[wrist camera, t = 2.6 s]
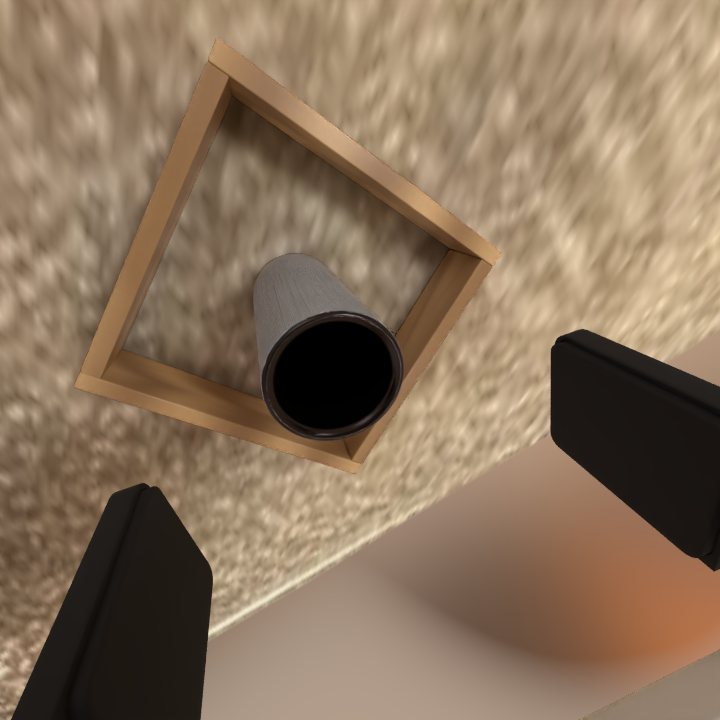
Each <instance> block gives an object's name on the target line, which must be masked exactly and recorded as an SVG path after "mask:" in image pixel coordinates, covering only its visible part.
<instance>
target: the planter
mask: <svg viewBox="0 0 720 720" xmlns="http://www.w3.org/2000/svg"><path fill="white" fill-rule="evenodd" d="M253 305H254V316H255V328H256V339H257V351H258V362H259V374H260V385H261V392H262V396H263V400H264V403H265V405H266V407H267V409H268V411H269V413H270V414H271V415H272V417H273V418H274V419H275V420H276V421H277V422H278V423H279V424H280V425H281V426H282V427H283V428H285V429H286V430H288V431H289V432H291V433H293V434H295V435H297V436H300V437H303V438H306V439H310V440H317V441H333V440H340V439H344V438H348V437H351V436H354V435H356V434H359V433H361V432H363V431H365V430H366V429H368V428H370V427H371V426H372V425H374V424H375V423H376V422H378V421H379V420H380V419H381V418H382V417H383V416H384V415H385V414H386V413H387V412H388V410H389V409H390V408H391V406H392V405H393V403H394V402H395V400H396V398H397V396H398V394H399V391H400V389H401V385H402V382H403V376H404V361H403V355H402V351H401V348H400V346H399V344H398V342H397V340H396V338H395V337H394V335H393V334H392V333H391V331H390V330H389V329H388V328H387V327H386V326H385V325H384V324H383V323H382V322H381V321H380V320H379V319H378V318H377V317H376V316H375V315H374V314H373V313H372V312H371V311H370V310H369V309H368V308H367V307H366V306H365V305H364V304H363V303H362V302H361V301H360V300H359V299H358V298H357V297H356V296H355V295H354V294H353V293H352V292H351V291H350V290H349V289H348V288H347V287H346V285H345V284H344V283H343V282H342V281H341V280H340V279H339V278H338V277H337V276H336V275H335V274H334V273H333V272H332V271H331V270H330V269H329V268H328V267H327V266H325V265H324V264H323V263H322V262H320V261H319V260H317V259H315V258H313V257H311V256H308V255H305V254H295V253H294V254H286V255H282V256H279V257H277V258H275V259H273V260H272V261H270V262H269V263H268V264H267V265H266V266H265V267H264V268H263V269H262V270H261V272H260V273H259V275H258V277H257V279H256V281H255V285H254V290H253Z"/></svg>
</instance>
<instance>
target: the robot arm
mask: <svg viewBox="0 0 720 720" xmlns="http://www.w3.org/2000/svg"><path fill="white" fill-rule="evenodd" d="M551 436H552V439H553V441H554V442H555V444H556V445H557V446H558V447H559V448H560V449H562V450H563V451H564V452H565V453H566V454H567V455H569V456H570V457H571V458H572V459H574V460H575V461H576V462H577V463H578V464H579V465H581V466H582V467H583V468H584V469H585V470H586V471H588V472H589V473H590V474H591V475H592V476H594V477H595V478H596V479H597V480H598V481H599V482H601V483H602V484H603V485H604V486H605V487H607V488H608V489H609V490H610V491H612V492H613V493H614V494H615V495H616V496H617V497H618V498H620V499H621V500H622V501H623V502H624V503H625V504H627V505H628V506H629V507H630V508H631V509H633V510H634V511H635V512H636V513H637V514H638V515H640V516H641V517H642V518H643V519H644V520H646V521H647V522H648V523H649V524H650V525H652V526H653V527H654V528H655V529H656V530H658V531H659V532H660V533H661V534H662V535H664V536H665V537H666V538H667V539H668V540H669V541H670V542H672V543H673V544H674V545H675V546H676V547H678V548H679V549H680V550H681V551H683V552H684V553H685V554H687V555H689V556H691V557H694V558H698V559H700V560H701V561H702V562H703V563H704V564H706V565H707V566H708V567H709V568H710V569H712V570H713V571H716V570H718V569H720V387H719V386H717V385H714V384H712V383H710V382H707V381H705V380H703V379H700V378H698V377H696V376H693V375H691V374H689V373H686V372H684V371H682V370H679V369H677V368H675V367H672V366H670V365H668V364H665V363H663V362H661V361H658V360H656V359H654V358H651V357H649V356H647V355H644V354H642V353H640V352H637V351H635V350H633V349H630V348H628V347H626V346H623V345H621V344H619V343H616V342H614V341H612V340H609V339H607V338H605V337H602V336H600V335H598V334H595V333H593V332H591V331H588V330H585V329H580V330H577V331H574V332H571V333H568V334H565V335H563V336H560V337H558V338H557V340H556V342H555V345H554V346H552V348H551ZM212 586H213V576H212V570H211V567H210V565H209V563H208V562H207V560H206V559H205V557H204V556H203V554H202V552H201V551H200V549H199V548H198V546H197V545H196V543H195V542H194V540H193V539H192V537H191V536H190V534H189V533H188V531H187V530H186V528H185V527H184V525H183V524H182V522H181V520H180V519H179V517H178V516H177V514H176V513H175V511H174V510H173V508H172V507H171V505H170V504H169V502H168V501H167V499H166V498H165V496H164V495H163V493H162V492H161V490H160V489H159V488H158V487H156V486H153V487H149V485H147V484H145V483H141V484H138V485H135V486H132V487H129V488H126V489H124V490H121V491H118V492H115V493H114V494H112V495H111V497H110V498H109V501H108V503H107V505H106V507H105V510H104V512H103V514H102V516H101V519H100V521H99V523H98V525H97V528H96V530H95V532H94V534H93V537H92V539H91V541H90V543H89V545H88V548H87V550H86V552H85V554H84V557H83V559H82V561H81V563H80V566H79V568H78V570H77V572H76V575H75V577H74V579H73V581H72V584H71V586H70V588H69V590H68V593H67V595H66V597H65V599H64V602H63V604H62V606H61V608H60V611H59V613H58V615H57V617H56V620H55V622H54V624H53V626H52V629H51V631H50V633H49V635H48V638H47V640H46V642H45V644H44V647H43V649H42V651H41V653H40V656H39V658H38V660H37V662H36V665H35V667H34V669H33V671H32V674H31V676H30V678H29V680H28V683H27V685H26V687H25V689H24V692H23V694H22V696H21V698H20V701H19V703H18V705H17V707H16V710H15V712H14V714H13V716H12V719H11V720H200V718H201V707H202V697H203V685H204V675H205V664H206V652H207V641H208V630H209V619H210V608H211V597H212ZM580 720H720V650H718V651H716V652H714V653H712V654H710V655H708V656H706V657H704V658H702V659H700V660H698V661H696V662H694V663H692V664H690V665H687V666H686V667H683V668H681V669H679V670H678V671H675V672H673V673H671V674H669V675H667V676H665V677H663V678H661V679H659V680H657V681H656V682H653V683H652V684H649V685H648V686H645V687H643V688H641V689H639V690H638V691H636V692H634V693H632V694H630V695H628V696H626V697H624V698H622V699H620V700H618V701H616V702H614V703H612V704H610V705H608V706H606V707H604V708H602V709H600V710H598V711H596V712H594V713H592V714H590V715H588V716H586V717H584V718H582V719H580Z"/></svg>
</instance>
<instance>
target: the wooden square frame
mask: <svg viewBox="0 0 720 720" xmlns="http://www.w3.org/2000/svg"><path fill="white" fill-rule="evenodd" d="M232 96H233V97H235V98H236V99H238V100H239V101H240V102H242V103H243V104H245V105H246V106H248V107H249V108H250V109H252V110H253V111H255V112H256V113H258V114H259V115H260V116H262V117H263V118H265V119H266V120H268V121H269V122H270V123H272V124H273V125H275V126H276V127H278V128H279V129H280V130H282V131H283V132H285V133H286V134H288V135H289V136H290V137H292V138H293V139H295V140H296V141H297V142H299V143H300V144H302V145H303V146H305V147H306V148H307V149H309V150H310V151H312V152H313V153H315V154H316V155H317V156H319V157H320V158H322V159H323V160H325V161H326V162H327V163H329V164H330V165H332V166H333V167H335V168H336V169H337V170H339V171H340V172H342V173H343V174H345V175H346V176H347V177H349V178H350V179H352V180H353V181H354V182H356V183H357V184H359V185H360V186H362V187H363V188H364V189H366V190H367V191H369V192H370V193H372V194H373V195H374V196H376V197H377V198H379V199H380V200H382V201H383V202H384V203H386V204H387V205H389V206H390V207H392V208H393V209H394V210H396V211H397V212H399V213H400V214H402V215H403V216H404V217H406V218H407V219H409V220H410V221H412V222H413V223H414V224H416V225H417V226H419V227H420V228H421V229H423V230H424V231H426V232H427V233H429V234H430V235H431V236H433V237H434V238H436V239H437V240H439V241H440V242H441V243H443V244H444V245H446V246H447V247H449V248H450V250H449V251H448V252H447V254H446V256H445V257H444V259H443V260H442V262H441V264H440V265H439V267H438V269H437V270H436V272H435V273H434V275H433V277H432V278H431V280H430V281H429V283H428V285H427V286H426V288H425V289H424V291H423V293H422V294H421V296H420V297H419V299H418V301H417V302H416V304H415V305H414V307H413V309H412V310H411V312H410V313H409V315H408V317H407V318H406V320H405V321H404V323H403V325H402V326H401V328H400V329H399V331H398V333H397V334H396V336H395V338H396V340H397V342H398V344H399V346H400V348H401V351H402V355H403V361H404V376H403V382H402V385H401V389H400V391H399V394H398V396H397V398H396V400H395V402H394V403H393V405H392V406H391V408H390V409H389V410H388V412H387V413H386V414H385V415H384V416H383V417H382V418H381V419H380V420H379V421H378V422H376V423H375V424H374V425H372V426H371V427H370V428H368V429H366V430H365V431H363V432H361V433H359V434H356V435H354V436H351V437H348V438H344V439H340V440H333V441H317V440H310V439H306V438H303V437H300V436H297V435H295V434H293V433H291V432H289V431H288V430H286V429H285V428H283V427H282V426H281V425H280V424H279V423H278V422H277V421H276V420H275V419H274V418H273V417H272V415H271V414H270V413H269V411H268V409H267V407H266V405H265V403H264V400H262V399H259V398H256V397H253V396H250V395H248V394H245V393H242V392H239V391H237V390H234V389H231V388H228V387H226V386H223V385H220V384H217V383H215V382H212V381H209V380H206V379H204V378H201V377H198V376H195V375H193V374H190V373H187V372H184V371H182V370H179V369H176V368H173V367H170V366H168V365H165V364H162V363H159V362H157V361H154V360H151V359H148V358H146V357H143V356H140V355H137V354H135V353H132V352H129V351H126V350H124V349H122V348H123V346H124V344H125V342H126V339H127V337H128V335H129V333H130V330H131V328H132V326H133V323H134V321H135V319H136V316H137V314H138V312H139V309H140V307H141V305H142V303H143V300H144V298H145V296H146V293H147V291H148V289H149V286H150V284H151V282H152V279H153V277H154V275H155V273H156V270H157V268H158V266H159V263H160V261H161V259H162V256H163V254H164V252H165V249H166V247H167V245H168V243H169V240H170V238H171V236H172V233H173V231H174V229H175V226H176V224H177V222H178V219H179V217H180V215H181V213H182V210H183V208H184V206H185V203H186V201H187V199H188V196H189V194H190V192H191V189H192V187H193V185H194V183H195V180H196V178H197V176H198V173H199V171H200V169H201V166H202V164H203V162H204V159H205V157H206V155H207V153H208V150H209V148H210V146H211V143H212V141H213V139H214V136H215V134H216V132H217V129H218V127H219V125H220V123H221V120H222V118H223V116H224V113H225V111H226V109H227V106H228V104H229V102H230V99H231V97H232ZM501 254H502V252H501V251H500V250H498V249H497V248H496V247H494V246H493V245H492V244H490V243H489V242H488V241H486V240H485V239H484V238H482V237H481V236H480V235H478V234H477V233H476V232H474V231H473V230H472V229H470V228H469V227H468V226H467V225H465V224H464V223H463V222H461V221H460V220H459V219H457V218H456V217H455V216H453V215H452V214H451V213H449V212H448V211H447V210H445V209H444V208H443V207H441V206H440V205H439V204H437V203H436V202H435V201H433V200H432V199H431V198H430V197H428V196H427V195H426V194H424V193H423V192H422V191H420V190H419V189H418V188H416V187H415V186H414V185H412V184H411V183H410V182H408V181H407V180H406V179H404V178H403V177H402V176H400V175H399V174H398V173H396V172H395V171H394V170H392V169H391V168H390V167H389V166H387V165H386V164H385V163H383V162H382V161H381V160H379V159H378V158H377V157H375V156H374V155H373V154H371V153H370V152H369V151H367V150H366V149H365V148H363V147H362V146H361V145H359V144H358V143H357V142H355V141H354V140H353V139H352V138H350V137H349V136H348V135H346V134H345V133H344V132H342V131H341V130H340V129H338V128H337V127H336V126H334V125H333V124H332V123H330V122H329V121H328V120H326V119H325V118H324V117H322V116H321V115H320V114H318V113H317V112H316V111H314V110H313V109H312V108H311V107H309V106H308V105H307V104H305V103H304V102H303V101H301V100H300V99H299V98H297V97H296V96H295V95H293V94H292V93H291V92H289V91H288V90H287V89H285V88H284V87H283V86H281V85H280V84H279V83H277V82H276V81H275V80H274V79H272V78H271V77H270V76H268V75H267V74H266V73H264V72H263V71H262V70H260V69H259V68H258V67H256V66H255V65H254V64H252V63H251V62H250V61H248V60H247V59H246V58H244V57H243V56H242V55H240V54H239V53H238V52H237V51H235V50H234V49H233V48H231V47H230V46H229V45H227V44H226V43H225V42H223V41H222V40H221V39H219V38H216V40H215V43H214V45H213V48H212V50H211V53H210V55H209V57H208V61H207V62H206V65H205V67H204V70H203V72H202V74H201V77H200V79H199V82H198V84H197V87H196V89H195V92H194V94H193V96H192V99H191V101H190V104H189V106H188V109H187V111H186V114H185V116H184V118H183V121H182V123H181V126H180V128H179V131H178V133H177V135H176V138H175V140H174V143H173V145H172V148H171V150H170V153H169V155H168V157H167V160H166V162H165V165H164V167H163V170H162V172H161V175H160V177H159V179H158V182H157V184H156V187H155V189H154V192H153V194H152V197H151V199H150V201H149V204H148V206H147V209H146V211H145V214H144V216H143V219H142V221H141V223H140V226H139V228H138V231H137V233H136V236H135V238H134V241H133V243H132V245H131V248H130V250H129V253H128V255H127V258H126V260H125V263H124V265H123V267H122V270H121V272H120V275H119V277H118V280H117V282H116V285H115V287H114V289H113V292H112V294H111V297H110V299H109V302H108V304H107V307H106V309H105V311H104V314H103V316H102V319H101V321H100V324H99V326H98V329H97V331H96V333H95V336H94V338H93V341H92V343H91V346H90V348H89V351H88V353H87V355H86V358H85V360H84V363H83V365H82V368H81V370H80V373H79V375H78V378H77V380H76V383H75V385H74V387H75V388H78V389H81V390H84V391H87V392H91V393H94V394H97V395H100V396H104V397H107V398H110V399H113V400H117V401H120V402H123V403H126V404H130V405H133V406H136V407H139V408H143V409H146V410H149V411H152V412H156V413H159V414H162V415H165V416H169V417H172V418H175V419H178V420H181V421H185V422H188V423H191V424H194V425H198V426H201V427H204V428H207V429H211V430H214V431H217V432H220V433H224V434H227V435H230V436H233V437H237V438H240V439H243V440H246V441H250V442H253V443H256V444H259V445H263V446H266V447H269V448H272V449H276V450H279V451H282V452H285V453H289V454H292V455H295V456H298V457H302V458H305V459H308V460H311V461H315V462H318V463H321V464H324V465H328V466H331V467H334V468H337V469H341V470H344V471H347V472H350V473H354V474H356V473H357V471H358V470H359V468H360V467H361V465H362V463H363V462H364V461H365V459H366V457H367V456H368V454H369V453H370V451H371V450H372V448H373V447H374V445H375V444H376V442H377V441H378V439H379V438H380V436H381V435H382V433H383V432H384V430H385V429H386V427H387V426H388V424H389V423H390V421H391V420H392V418H393V417H394V415H395V414H396V412H397V411H398V409H399V408H400V406H401V405H402V403H403V402H404V400H405V398H406V397H407V395H408V394H409V392H410V391H411V389H412V388H413V386H414V385H415V383H416V382H417V380H418V379H419V377H420V376H421V374H422V373H423V371H424V370H425V368H426V367H427V365H428V364H429V362H430V361H431V359H432V358H433V356H434V355H435V353H436V352H437V350H438V349H439V347H440V346H441V344H442V342H443V341H444V339H445V338H446V336H447V335H448V333H449V332H450V330H451V329H452V327H453V326H454V324H455V323H456V321H457V320H458V318H459V317H460V315H461V314H462V312H463V311H464V309H465V308H466V306H467V305H468V303H469V302H470V300H471V299H472V297H473V296H474V294H475V293H476V291H477V290H478V288H479V287H480V285H481V283H482V282H483V280H484V279H485V277H486V276H487V274H488V273H489V271H490V270H491V268H492V266H493V265H494V264H495V263H496V261H497V260H498V258H499V257H500V255H501Z"/></svg>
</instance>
